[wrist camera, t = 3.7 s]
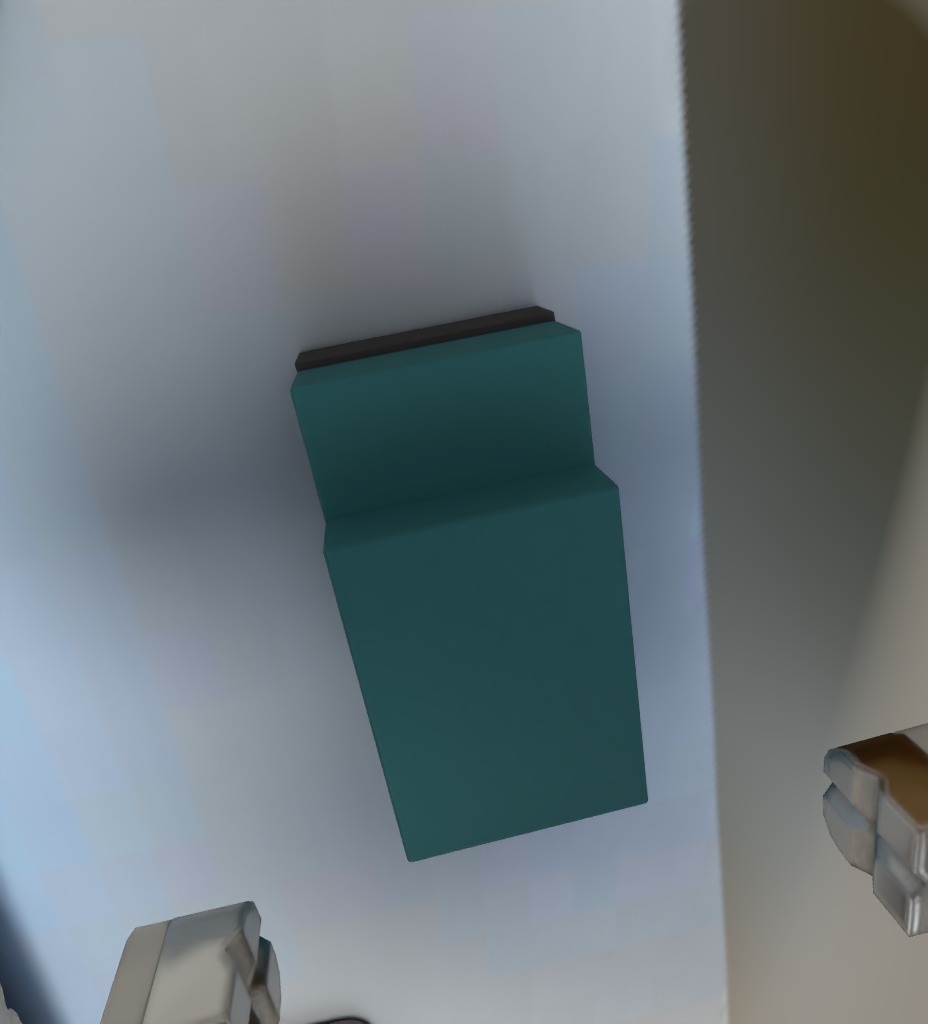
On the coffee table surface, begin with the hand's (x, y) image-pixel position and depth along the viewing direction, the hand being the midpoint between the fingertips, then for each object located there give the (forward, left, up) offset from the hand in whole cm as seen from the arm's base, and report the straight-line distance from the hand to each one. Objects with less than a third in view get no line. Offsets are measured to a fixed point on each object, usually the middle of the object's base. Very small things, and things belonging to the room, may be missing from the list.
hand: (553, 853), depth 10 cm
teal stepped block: (0, 0, -11) cm, 11 cm away
